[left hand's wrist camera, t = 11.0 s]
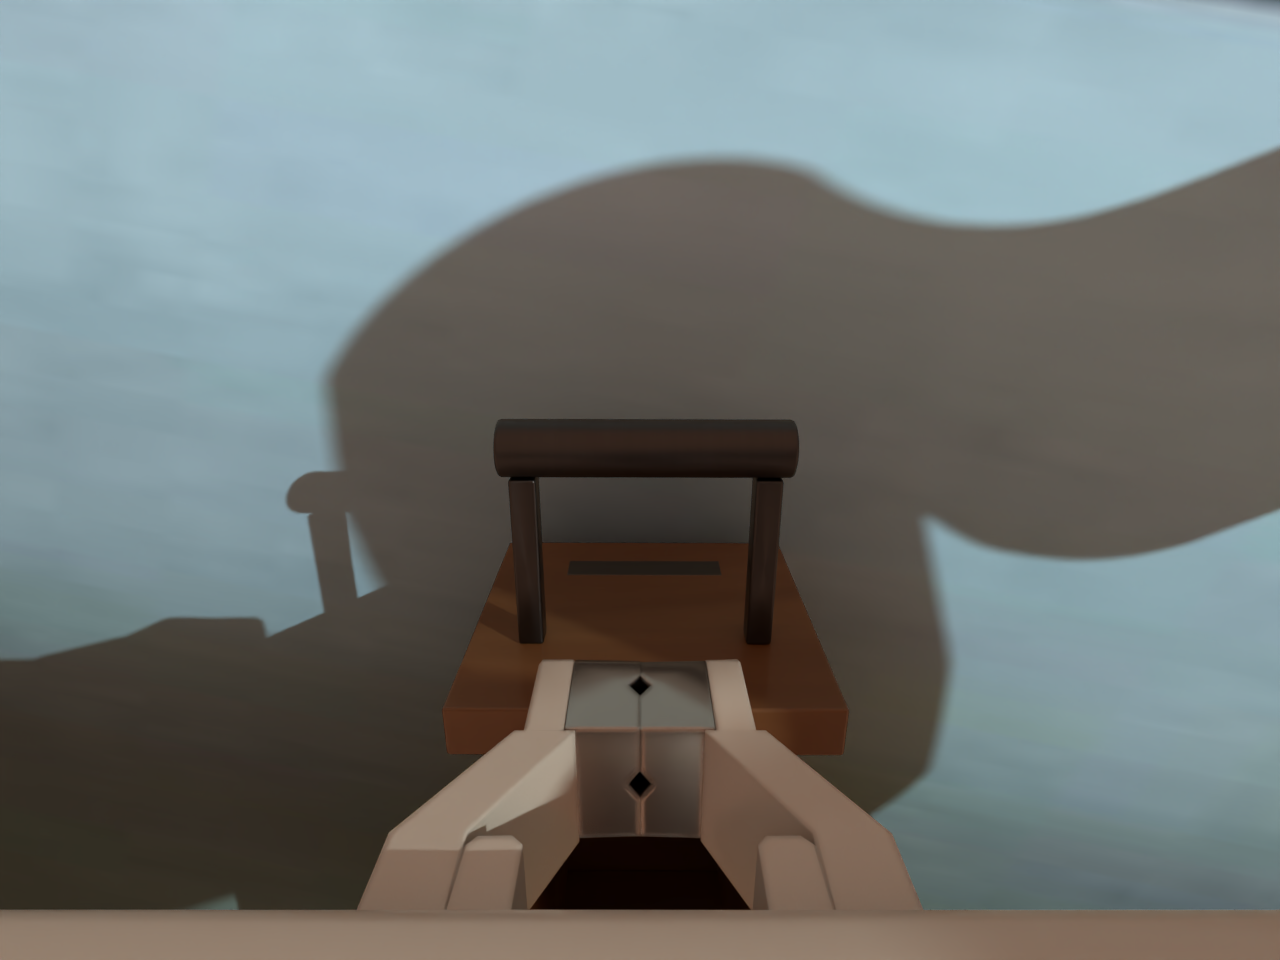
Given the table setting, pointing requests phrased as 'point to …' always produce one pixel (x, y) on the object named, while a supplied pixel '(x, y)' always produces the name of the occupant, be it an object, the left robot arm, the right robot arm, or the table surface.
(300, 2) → the table surface
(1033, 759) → the table surface
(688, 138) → the table surface
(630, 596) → the drawer
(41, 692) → the table surface
